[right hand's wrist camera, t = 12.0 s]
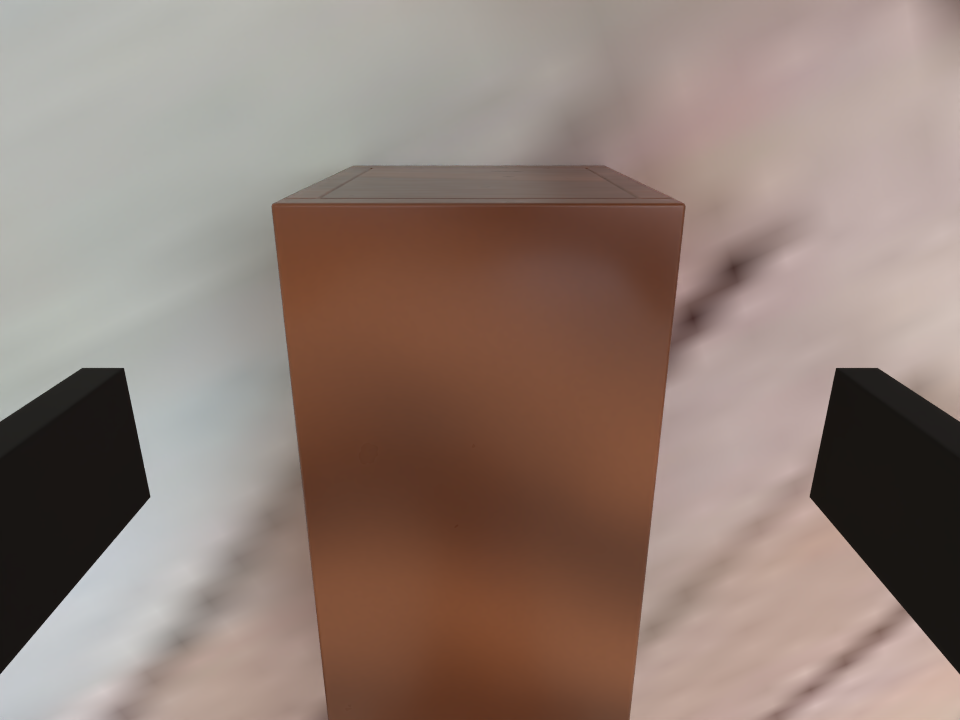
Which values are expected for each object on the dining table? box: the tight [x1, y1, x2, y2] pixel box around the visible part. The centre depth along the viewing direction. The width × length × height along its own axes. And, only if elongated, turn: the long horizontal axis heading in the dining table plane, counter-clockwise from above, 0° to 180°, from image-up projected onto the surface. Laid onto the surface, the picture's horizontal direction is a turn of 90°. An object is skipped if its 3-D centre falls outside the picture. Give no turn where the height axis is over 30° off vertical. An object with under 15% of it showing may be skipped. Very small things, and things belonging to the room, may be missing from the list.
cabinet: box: [272, 166, 685, 720], centre depth 26 cm, size 20×11×12 cm, turn 0°
